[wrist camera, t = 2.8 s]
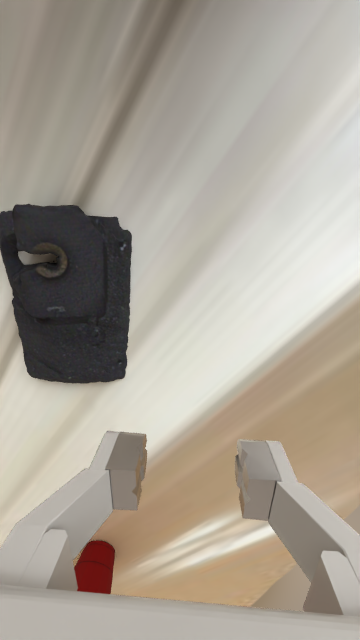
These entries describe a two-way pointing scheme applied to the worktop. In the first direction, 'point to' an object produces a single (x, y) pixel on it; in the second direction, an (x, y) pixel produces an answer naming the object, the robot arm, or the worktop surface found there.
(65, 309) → the dark slate chunk
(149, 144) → the worktop surface
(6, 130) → the worktop surface
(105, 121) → the worktop surface
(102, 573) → the plastic cup
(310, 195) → the worktop surface
